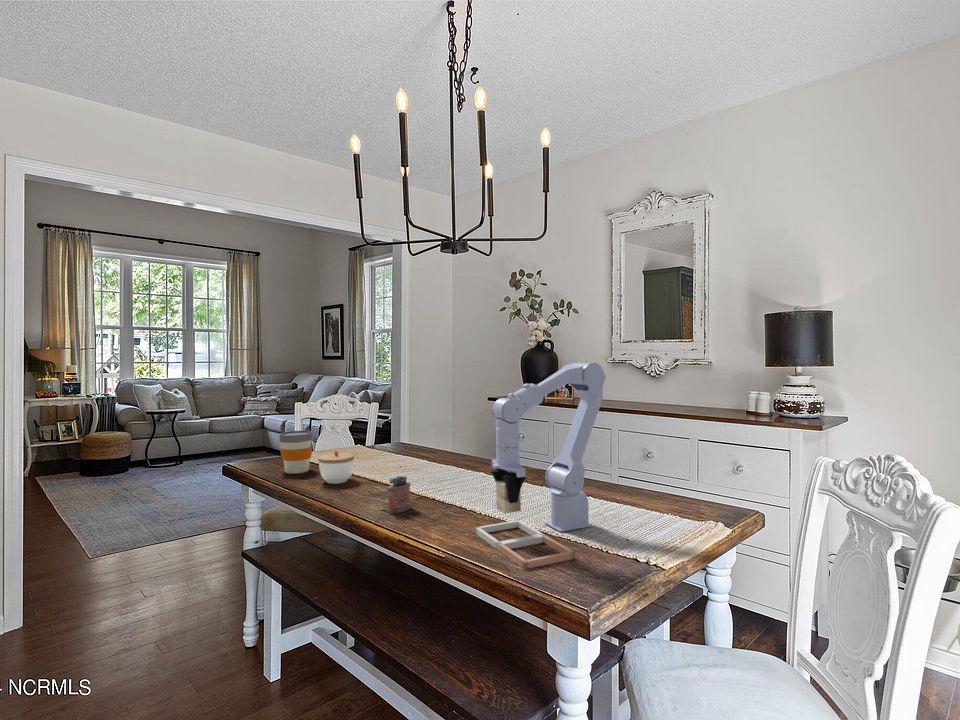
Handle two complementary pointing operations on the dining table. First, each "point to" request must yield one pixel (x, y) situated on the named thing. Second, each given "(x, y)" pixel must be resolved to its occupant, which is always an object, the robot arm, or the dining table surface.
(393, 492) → the lighter
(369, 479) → the dining table surface
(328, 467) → the lidded bowl
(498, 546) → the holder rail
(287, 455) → the reusable coffee cup
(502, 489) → the maple block
